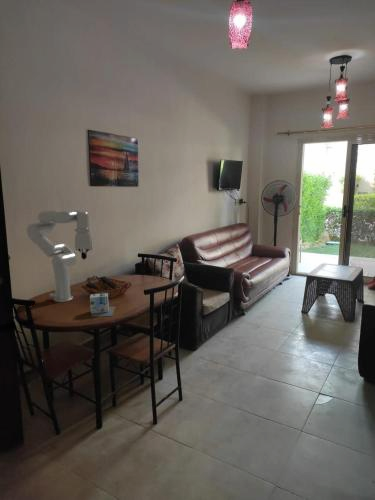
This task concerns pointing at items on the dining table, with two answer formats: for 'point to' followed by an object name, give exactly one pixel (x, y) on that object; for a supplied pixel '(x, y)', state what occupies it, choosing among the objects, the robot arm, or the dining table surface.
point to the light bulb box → (99, 303)
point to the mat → (105, 314)
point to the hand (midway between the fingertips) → (84, 258)
